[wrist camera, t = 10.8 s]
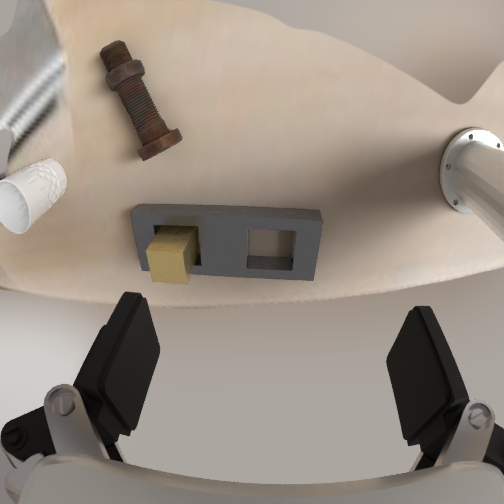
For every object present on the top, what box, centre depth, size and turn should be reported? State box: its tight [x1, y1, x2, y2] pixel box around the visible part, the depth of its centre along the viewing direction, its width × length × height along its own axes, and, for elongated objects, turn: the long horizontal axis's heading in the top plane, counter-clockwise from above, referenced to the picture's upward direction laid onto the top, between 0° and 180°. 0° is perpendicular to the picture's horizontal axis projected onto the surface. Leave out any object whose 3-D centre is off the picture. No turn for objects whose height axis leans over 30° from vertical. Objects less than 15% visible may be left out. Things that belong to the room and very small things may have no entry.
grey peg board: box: [131, 204, 323, 281], centre depth 40 cm, size 24×9×3 cm, turn 89°
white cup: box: [0, 158, 67, 234], centre depth 33 cm, size 8×8×10 cm
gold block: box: [146, 225, 200, 284], centre depth 38 cm, size 4×4×8 cm
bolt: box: [100, 40, 182, 161], centre depth 29 cm, size 6×5×15 cm
